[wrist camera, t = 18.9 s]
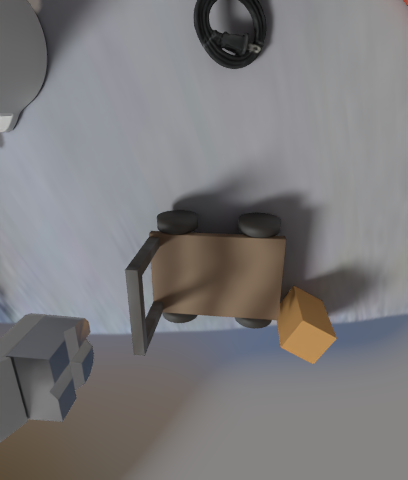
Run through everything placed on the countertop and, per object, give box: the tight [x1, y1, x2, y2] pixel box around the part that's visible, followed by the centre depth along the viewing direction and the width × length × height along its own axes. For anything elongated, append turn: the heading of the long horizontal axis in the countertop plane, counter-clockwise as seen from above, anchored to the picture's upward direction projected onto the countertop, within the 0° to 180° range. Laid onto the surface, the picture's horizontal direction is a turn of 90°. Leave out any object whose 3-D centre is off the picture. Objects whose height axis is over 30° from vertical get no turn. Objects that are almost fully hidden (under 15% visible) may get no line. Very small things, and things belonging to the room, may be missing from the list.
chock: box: [277, 286, 337, 364], centre depth 43 cm, size 5×5×8 cm
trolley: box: [125, 210, 286, 356], centre depth 39 cm, size 16×14×14 cm
